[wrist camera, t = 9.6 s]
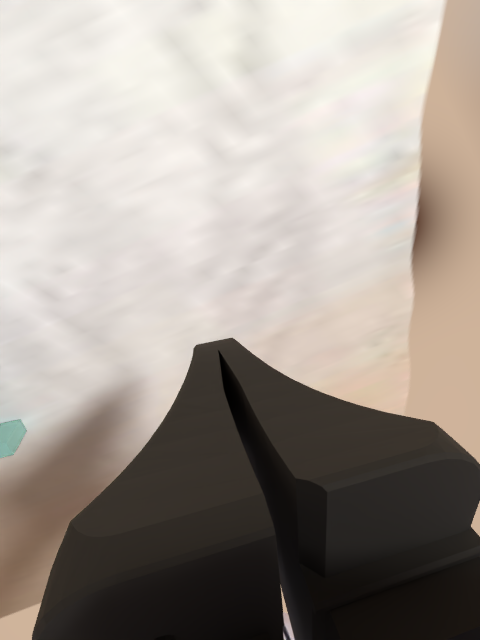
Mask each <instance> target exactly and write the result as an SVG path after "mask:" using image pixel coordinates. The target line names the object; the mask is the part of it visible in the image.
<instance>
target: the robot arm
mask: <svg viewBox="0 0 480 640" xmlns="http://www.w3.org/2000/svg"><path fill="white" fill-rule="evenodd" d="M479 501H480V464H479V463H478V462H477V461H476V459H474V457H472V456H471V455H470V454H469V453H468V452H467V451H466V450H465V449H464V448H463V447H461V446H460V445H459V444H458V443H457V442H456V441H455V440H454V439H453V438H452V437H450V436H449V435H448V434H447V433H446V432H445V431H443V430H442V429H441V428H440V427H439V426H437V425H436V424H435V423H434V422H431V421H426V420H421V419H416V418H411V417H406V416H401V415H396V414H391V413H386V412H382V411H378V410H375V409H371V408H367V407H364V406H360V405H356V404H353V403H350V402H347V401H344V400H341V399H338V398H335V397H332V396H330V395H327V394H324V393H322V392H319V391H317V390H314V389H312V388H310V387H308V386H305V385H303V384H301V383H299V382H297V381H295V380H293V379H291V378H289V377H287V376H285V375H284V374H282V373H280V372H279V371H277V370H275V369H274V368H272V367H270V366H269V365H267V364H266V363H265V362H263V361H262V360H260V359H259V358H258V357H256V356H255V355H254V354H252V353H251V352H250V351H248V350H247V349H246V348H245V347H243V346H242V345H241V344H240V343H239V342H237V341H236V340H235V339H233V338H228V339H223V340H218V341H213V342H208V343H204V344H199V345H196V346H195V347H194V351H193V357H192V361H191V364H190V367H189V370H188V372H187V375H186V378H185V380H184V383H183V385H182V387H181V389H180V391H179V393H178V395H177V397H176V399H175V401H174V403H173V405H172V407H171V409H170V410H169V412H168V414H167V415H166V417H165V418H164V420H163V422H162V423H161V425H160V426H159V427H158V429H157V430H156V432H155V433H154V434H153V436H152V437H151V439H150V440H149V441H148V443H147V444H146V445H145V446H144V448H143V449H142V450H141V451H140V453H139V454H138V455H137V456H136V457H135V458H134V459H133V461H132V462H131V463H130V464H129V465H128V466H127V467H126V469H125V470H124V471H123V472H122V473H121V474H120V475H119V476H118V477H117V478H116V479H115V480H114V481H113V482H112V483H111V484H110V485H109V486H108V487H107V488H106V489H105V490H104V491H103V492H102V493H101V494H100V495H99V496H97V497H96V498H95V499H94V500H93V501H92V502H91V503H90V504H89V505H88V506H87V507H86V508H85V509H84V510H83V511H82V512H80V513H79V514H78V515H77V516H76V517H75V518H74V519H73V520H71V522H70V523H69V526H68V529H67V531H66V534H65V536H64V539H63V541H62V544H61V546H60V548H59V550H58V553H57V556H56V558H55V561H54V564H53V566H52V569H51V572H50V576H49V579H48V582H47V586H46V589H45V593H44V596H43V600H42V603H41V607H40V610H39V613H38V617H37V620H36V624H35V627H34V631H33V635H32V640H480V537H479V535H478V534H477V533H476V532H475V531H474V530H473V529H472V528H471V524H472V521H473V518H474V515H475V512H476V509H477V507H478V504H479ZM280 584H281V586H280ZM281 588H282V592H283V596H284V599H285V603H286V607H287V611H288V614H287V613H283V607H282V598H281V597H282V596H281Z"/></svg>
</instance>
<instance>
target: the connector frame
mask: <svg viewBox="0 0 480 640" xmlns="http://www.w3.org/2000/svg"><path fill="white" fill-rule="evenodd" d="M25 433H26V429H25V427H24V425H23V423H22V421H21V419H20V420H15V421H10V422H6V423H1V424H0V458H2V457H6V456H11V455H14V453H15V451H16V449H17V448H18V446H19V444H20V442H21V440H22V438H23V437H24V435H25Z"/></svg>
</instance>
